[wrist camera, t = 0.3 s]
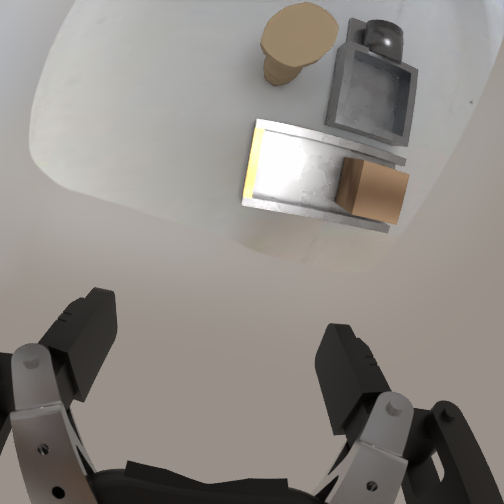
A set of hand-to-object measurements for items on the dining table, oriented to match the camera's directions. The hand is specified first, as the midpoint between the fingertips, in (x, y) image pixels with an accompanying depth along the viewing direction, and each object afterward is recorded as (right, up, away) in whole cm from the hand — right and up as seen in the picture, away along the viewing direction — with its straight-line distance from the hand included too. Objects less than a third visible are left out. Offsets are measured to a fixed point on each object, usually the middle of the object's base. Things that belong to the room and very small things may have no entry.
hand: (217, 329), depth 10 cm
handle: (+4, +24, +20) cm, 32 cm away
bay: (+10, +12, +25) cm, 30 cm away
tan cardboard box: (+15, +11, +24) cm, 31 cm away
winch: (+17, +26, +20) cm, 37 cm away
